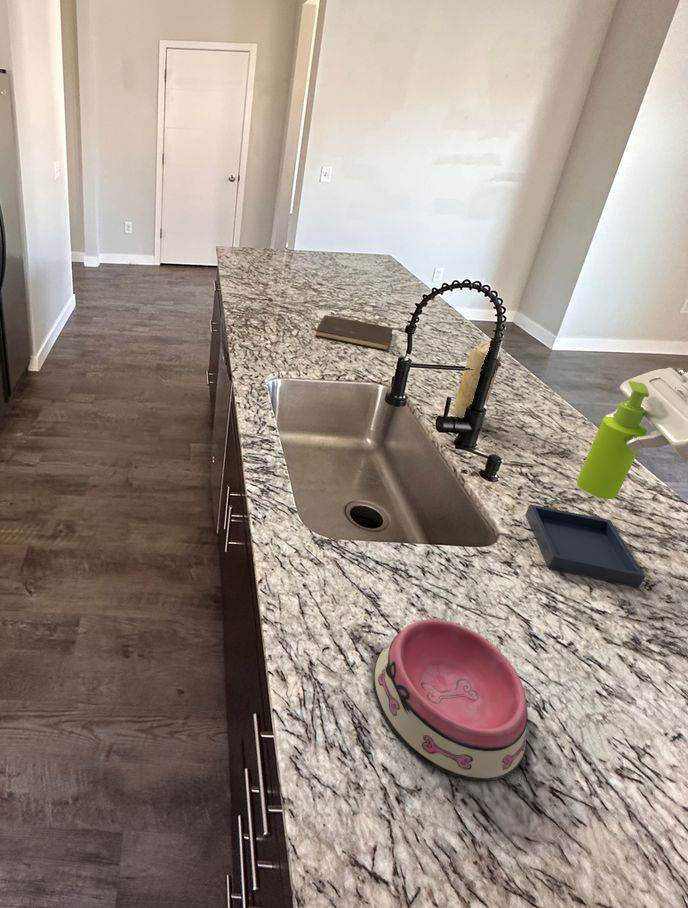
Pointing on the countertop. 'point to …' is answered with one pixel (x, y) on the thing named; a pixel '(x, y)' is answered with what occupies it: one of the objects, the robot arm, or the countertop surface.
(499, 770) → the dog bowl
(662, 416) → the robot arm
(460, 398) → the food model
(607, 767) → the countertop surface
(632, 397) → the soap dispenser
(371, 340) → the hardcover book
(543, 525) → the drip tray
